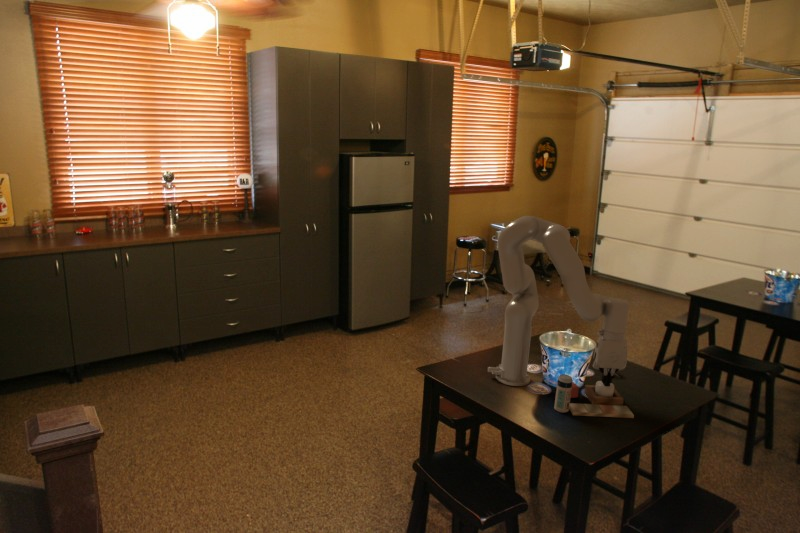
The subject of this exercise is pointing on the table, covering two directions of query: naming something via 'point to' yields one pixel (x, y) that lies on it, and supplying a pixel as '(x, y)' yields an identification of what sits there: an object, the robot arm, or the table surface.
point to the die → (574, 390)
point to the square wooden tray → (601, 399)
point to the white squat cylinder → (604, 389)
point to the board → (600, 410)
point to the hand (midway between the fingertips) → (606, 384)
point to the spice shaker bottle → (563, 393)
